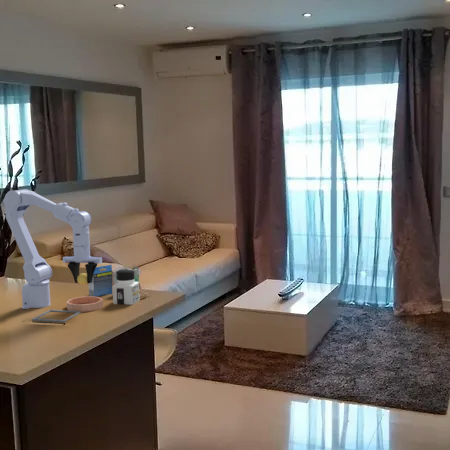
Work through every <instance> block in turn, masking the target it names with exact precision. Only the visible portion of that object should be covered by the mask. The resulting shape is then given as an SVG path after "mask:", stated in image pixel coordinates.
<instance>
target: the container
mask: <svg viewBox="0 0 450 450" xmlns="http://www.w3.org/2000/svg"><path fill="white" fill-rule="evenodd" d="M132 269H133V268H121V269H117V270H116V271H117V281H116V283H115V284H114V285H113V284H112V304H113V305H135V304H136V303H137V302H139V301H140V299H141V298H140V281H139V282H134V281H135V277H134V270H132ZM117 282H118V283H117Z"/></svg>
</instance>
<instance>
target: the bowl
mask: <svg viewBox="0 0 450 450" xmlns="http://www.w3.org/2000/svg"><path fill="white" fill-rule="evenodd" d="M103 307H104V300H103V297H100V296H95V297H93V296H89V295H88V296H77V297H73V298H70V299H67V301H66V309H67V310H66V311H81V313H85V312H93V311H97V310H100V309H102V308H103Z"/></svg>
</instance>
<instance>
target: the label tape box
mask: <svg viewBox="0 0 450 450" xmlns="http://www.w3.org/2000/svg"><path fill="white" fill-rule="evenodd" d="M112 267H113V266H112V264H109V265H101V266H96V269H95V271H94V274H93V278H92V282H91V283H88V296H93V297H100V296H103V295H113V269H112Z"/></svg>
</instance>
